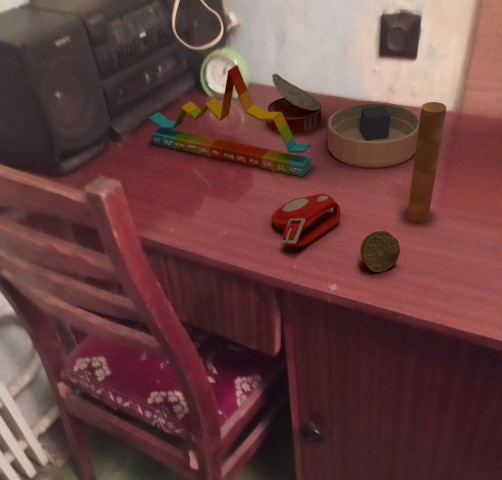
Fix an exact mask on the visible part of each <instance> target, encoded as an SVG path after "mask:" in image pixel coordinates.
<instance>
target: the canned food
mask: <svg viewBox="0 0 502 480" xmlns="http://www.w3.org/2000/svg"><path fill="white" fill-rule="evenodd" d="M271 77H272V83H273V85H274V87H275V88H276V90H277V91H278V93H279V94H280V95H281V96H282V97H280V98H277V99H276V100H274V101H272V102H271V103H269V105H268V106H267V112H282V114H283V116H284V118H285V120H286V122H287V125H288V127H289V129H290V131H291V133H292V135H293V136H296V135H303V134H308V133H311V132H314V131H316V130H317V129H319V127H321V125H322V107H323V105H322V103H321V102H320V101H319V100H318V99H317V98H316V97H315V96H314V95H312V94H310V93H309V92H307V91H305V90H304V89H301V88H300V87H299V86H297V85H294V84H293V83H291V82H289V81H288V80H286V79H284V78H283V77H282V76H281V75H279V74H278V73H273V74H271ZM267 124H268V127H269V130H272V131H273V132H274V133H277V134H280V133H279V131H278V129H277V127H276V125H275V123H274V121H267Z"/></svg>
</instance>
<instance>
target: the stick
mask: <svg viewBox="0 0 502 480" xmlns="http://www.w3.org/2000/svg"><path fill="white" fill-rule="evenodd" d="M446 114H447V105H446V104H444V103H442V102H440V101H439V102H438V101H427V102H425V103H423V104H422V105H421V109H420V115H419V116H420V122H419V130H418V137H417V145H416V152H415V153H414V159H413V166H412V167H413V168H412V176H411V183H410V188H409V189H410V191H409V197H408V205H407V211H406V218H407V219H408V221H410V222H413V223H424V222H426V221H427V220H428V219H429V217H430V212H431V211H430V210H431V205H432V200H433V199H432V198H433V192H434V186H435V180H436V174H437V169H438V161H439V156H440V151H441V150H440V149H441V144H442V138H443V132H444V131H443V130H444V126H445V120H446Z"/></svg>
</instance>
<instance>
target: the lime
mask: <svg viewBox="0 0 502 480" xmlns="http://www.w3.org/2000/svg"><path fill="white" fill-rule="evenodd" d="M359 251H360V253H359V254H360V256H361V260H362V262H363V264H364V265H365V266H366V268H367V269H369V270H370V271H371V272H373V273H374V272H375V273H381V272H384V271H387V270H388V269H390V268H391V267H393V265H395V263H396V262H397V261H398V260H399V257H400V253H401V247H400V243H399V240H398V239H397V238H396V237H395V236H394V235H392V234H391V233H390V232H389V231H386V230H378V231H373V232H371V233H370V234H368V235H367V236H365V238H364V239H363V241H362V243H361V246H360V250H359Z"/></svg>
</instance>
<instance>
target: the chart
mask: <svg viewBox="0 0 502 480" xmlns="http://www.w3.org/2000/svg"><path fill="white" fill-rule="evenodd" d="M234 89H235V91H236V93H237V96H238V99H239V101H240V103H241V105H242V108H243V110H244V112H245V114H246V115H248V116H250V117H252V118H254V119H256V120H257V121H260V122H268V121H274V123H275V125H276V127H277V129H278V131H279V133H278V134H279V135H280V137H281V139H282V142H283V143H284V145H285V147H286V150H287V151H288V152H286V151H285V152H284V151H278V150H273V149H269V148H264V147H259V146H254V145H250V144H244V143H240V142H236V141H231V140H227V139H220V138H215V137H211V136H207V135H201V134H195V133H191V132H186V131H182V130H177V129H176V128H177V127H178V126H180V125H181V124H183V122H184V120H185V118H186V116H187V115H188V116H190V117H191V118H192V119H193V120H194V121H196V120H198V119H199V118H201V117H202V116H204V115H205V113H206V112H207V111H208V110H209V111H210V112H211V114H213V115H214V116H215V118H217V119H218V121H220V122H221V121H223V120H224V119H225V118H227V117H228V116H229V115H230V110H231V105H232V99H233V94H234V93H233V92H234ZM186 114H187V115H186ZM149 121H151V122H152V123H153V124H155V125H156V126H157V127H158V129H156V130H155V131H153V132H151V133H150V135H151V140H152V144H153V145H156V146H160V147H165V148H170V149H174V150H179V151H183V152H188V153H192V154H197V155H200V156H201V155H202V156H206V157H210V158H215V159H219V160H224V161H229V162H234V163H238V164H242V165H248V166H251V167H255V168H261V169H264V170H268V171H269V170H270V171H274V172H279V173H283V174H287V175H293V176H298V177H304V176H305V175H306V174H307V173H308V172H309V171H310V170H311V169H312V158H311V157H309V156H304V155H299V154H305V152H306V151H307V150H308V149H309V148H310V147H311V146H312V143H297V141H296V140H295V138H294V135H292V133H291V131H290V129H289V127H288V125H287V122H286V120H285V118H284V116H283V114H282V112H268V110H265V109H263V108H261V107H259V106H258V105H256V104H254V101H253V99H252V97H251V94H250V92H249V90H248V88H247V85H246V82H245V80H244V78H243V75H242V73H241V70H240V68H239V66H238V64H236V65H234V66H233V67H231V68H230V69H228V71H227V74H226V81H225V88H224V93H223V99H222V104H221V103H220V102H219V101H218V100H217V99H216V97H213V98H211V99H210V100H209V101H207V102H206V103H205V104H204V105H203V106H202V108H199V107H198V106H197V105H196V104H195V103H194V102H192V101H188V102H187V103H186V104H184V105H183V106H181V107H180V110H179V112H178V115H177V117H176V119H175V120H170V119H169V118H167V117H166V116H165V115H163V114H162V113H160V112H159V111H157V112H155V113H154V114H153V115H151V116H150V117H149Z"/></svg>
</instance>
